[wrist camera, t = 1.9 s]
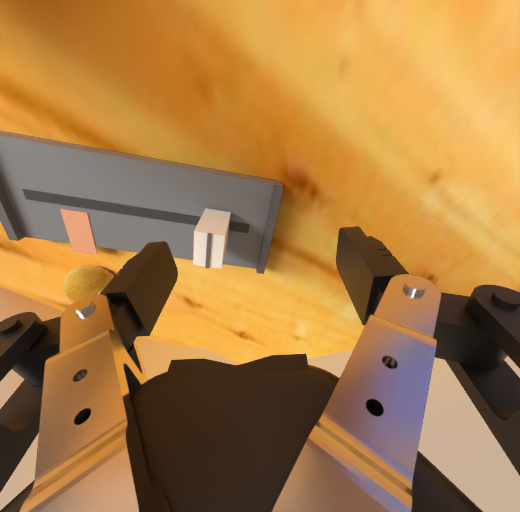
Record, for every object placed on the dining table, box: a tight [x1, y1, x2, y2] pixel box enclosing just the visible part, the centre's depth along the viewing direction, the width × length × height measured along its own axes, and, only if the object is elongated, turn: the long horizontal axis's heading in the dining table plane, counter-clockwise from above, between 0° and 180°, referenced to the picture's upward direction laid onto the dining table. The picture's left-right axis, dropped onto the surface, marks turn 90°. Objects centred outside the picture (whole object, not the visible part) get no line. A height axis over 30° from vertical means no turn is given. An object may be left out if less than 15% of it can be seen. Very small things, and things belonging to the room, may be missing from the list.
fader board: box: [0, 131, 284, 274], centre depth 29 cm, size 32×13×3 cm, turn 80°
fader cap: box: [193, 208, 231, 269], centre depth 26 cm, size 3×4×6 cm
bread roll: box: [63, 266, 114, 303], centre depth 35 cm, size 8×9×4 cm
